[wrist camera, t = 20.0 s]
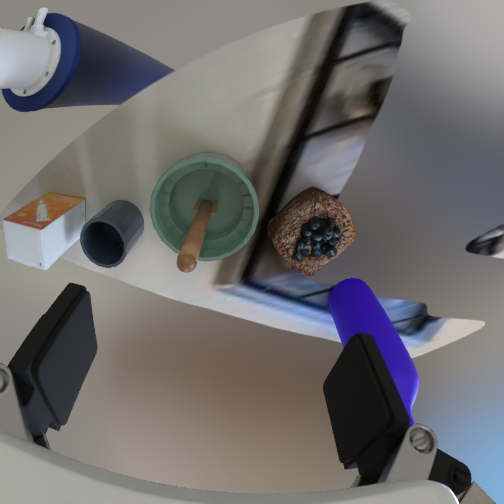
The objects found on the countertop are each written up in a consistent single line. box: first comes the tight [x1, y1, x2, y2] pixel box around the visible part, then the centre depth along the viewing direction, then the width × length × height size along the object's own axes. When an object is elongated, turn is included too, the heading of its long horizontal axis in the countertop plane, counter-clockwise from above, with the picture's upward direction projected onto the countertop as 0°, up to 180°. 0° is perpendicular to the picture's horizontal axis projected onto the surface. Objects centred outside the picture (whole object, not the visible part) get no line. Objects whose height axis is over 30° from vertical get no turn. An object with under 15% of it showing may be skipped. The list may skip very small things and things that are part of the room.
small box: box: [3, 192, 85, 271], centre depth 36 cm, size 8×6×13 cm
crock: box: [80, 200, 144, 268], centre depth 40 cm, size 7×7×8 cm
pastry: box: [267, 187, 357, 276], centre depth 42 cm, size 11×12×6 cm
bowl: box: [150, 152, 259, 261], centre depth 40 cm, size 14×14×6 cm
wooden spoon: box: [177, 198, 218, 273], centre depth 34 cm, size 2×3×19 cm, turn 77°
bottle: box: [328, 278, 419, 426], centre depth 38 cm, size 8×8×30 cm
